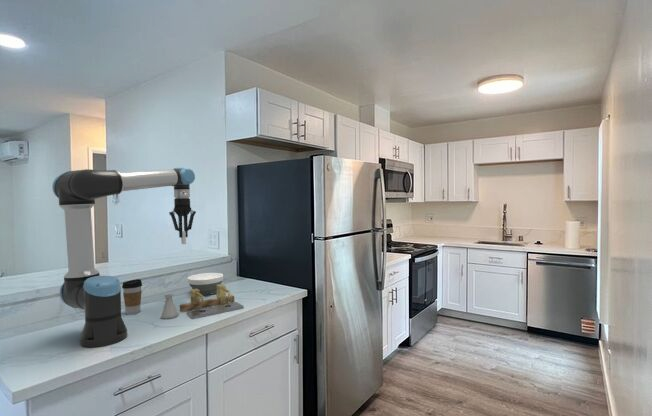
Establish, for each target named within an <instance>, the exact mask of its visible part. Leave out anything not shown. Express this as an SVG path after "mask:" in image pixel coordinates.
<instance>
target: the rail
mask: <svg viewBox="0 0 652 416" xmlns="http://www.w3.org/2000/svg"><path fill="white" fill-rule="evenodd" d="M233 302H235V295H233V294H230V300H229V298H228V295H226V303H224V304H228V303H233ZM218 305H222V304H220V298H217V297H213V298H208V299H204V295H201V294H200V290H198V289H192V288H191V289H190V302H187V303H185V302H184V303H181V304H179V312H181V313H184V312H188V311H193V310H198V309H203V308H208V307H213V306H218Z"/></svg>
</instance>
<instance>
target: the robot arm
mask: <svg viewBox="0 0 652 416" xmlns="http://www.w3.org/2000/svg"><path fill="white" fill-rule="evenodd" d="M195 179H196V174H195V172H194V171H193V169H191V168H190V167H189V168H187V167H174V168H169V169H153V170H138V171H135V170H134V171H120V172H119V171H118V170H116V169H112V170H110V169H109V170H107V169H89V168H88V169H79V170H69V171H66V172H63V173H60V174H59V175H57V176H56V177H55V178H54V180H53V182H52V185H51V186H52V192H53V194H54V195H55V197H57V199H58V206H59V207H60V208H61V209H63V212H64V221H65V222H64V224H65V225H64V227H65V237H66V241H65V242H66V253H67V254H66V255H67V268H68V271H67V272H66V273H65V274H64V275H63V281H64V282H63V284H61V286H60V288H59V298H60V300H61V301H62V303H63V304H65V305H67V306H68V307H71V308H74V309H79V310H80V309H81V310H84V321H85V322H84V326H83V329H82V332H81V335H80V338H79V345H80V346H81V347H84V348H98V347H105V346H109V345H113V344H116V343H119V342H122V341H123V340H124V339H126V338H127V337H128V329H127V326H126V324H125V321H124V319H123V317H122V296H121V292H122V291H121V290H122V285H121V281H120V279H119V278H118V277H116V276H114V275H100V271H99V270H98V269H96V268H95V257H94V256H95V255H94V253H95V252H94V237H93V224H92V223H93V221H92V208H94V206H96V200H97V199H100V198H104V197H108V196H115V195H116V196H117V195H121V193H122V192H126V191H127V192H129V191H138V190H145V189H146V190H147V189H155V188H163V187H173V197H174V199H173V200H174V201H173V202H174V207H173V209H172V211H169V212H168V213H169V216H171V217H170V218H171V220H172V224H173V226H174V230H175V231H178V235H179V237H178V238H180V239H181V245H186V244H187V238H188V236H189V232H188V231H190V230H192V227H193V223H194V217H195V214H196V213H197V212H196V210H193V209H192V207H191V199H190V198H191V194H190V193H191V192H190V191H191V188H190V187H191V184H193V183H194V181H195ZM175 214H176V215H177V218H178V219H176V215H175ZM189 214H190V216H189V220H188V215H189ZM177 220H178V222H177Z"/></svg>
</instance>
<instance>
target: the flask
mask: <svg viewBox="0 0 652 416" xmlns="http://www.w3.org/2000/svg"><path fill="white" fill-rule="evenodd" d="M173 295H174V294H173V293H167V294H165V295H164V297H165V302H164V305H163V309H162V311H161V314H160V319H163V320H165V319H166V320H170V319H173V318H177V317H178V316H179V312H178V311H177V308H176V306H175V304H174V301H173Z"/></svg>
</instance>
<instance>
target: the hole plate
mask: <svg viewBox="0 0 652 416" xmlns="http://www.w3.org/2000/svg"><path fill="white" fill-rule="evenodd" d="M244 306H245V305H243V304H241V303H239V302H237V301H234V302H231V303H226V304H221V305H216V306H211V307H206V308H200V309H195V310H190V311H186V315H187V316H188V317H189V318H190V319H191V320H196V319H198V318H203V317H209V316H213V315H218V314H223V313H229V312H234V311H237V310H242V309H244Z"/></svg>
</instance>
